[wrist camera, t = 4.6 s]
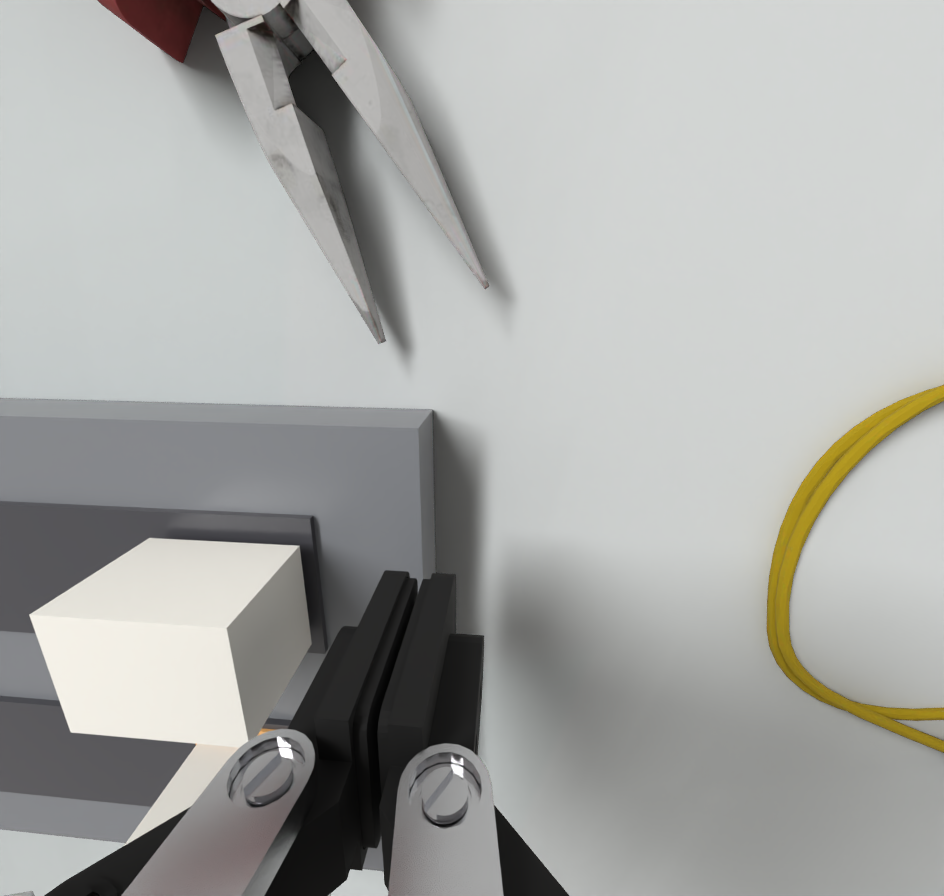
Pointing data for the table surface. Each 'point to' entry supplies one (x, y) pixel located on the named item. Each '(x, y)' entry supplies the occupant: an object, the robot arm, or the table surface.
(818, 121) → the table surface
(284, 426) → the switch panel
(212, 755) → the tab
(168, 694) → the tab
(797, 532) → the extension cord
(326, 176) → the pliers
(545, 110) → the table surface
